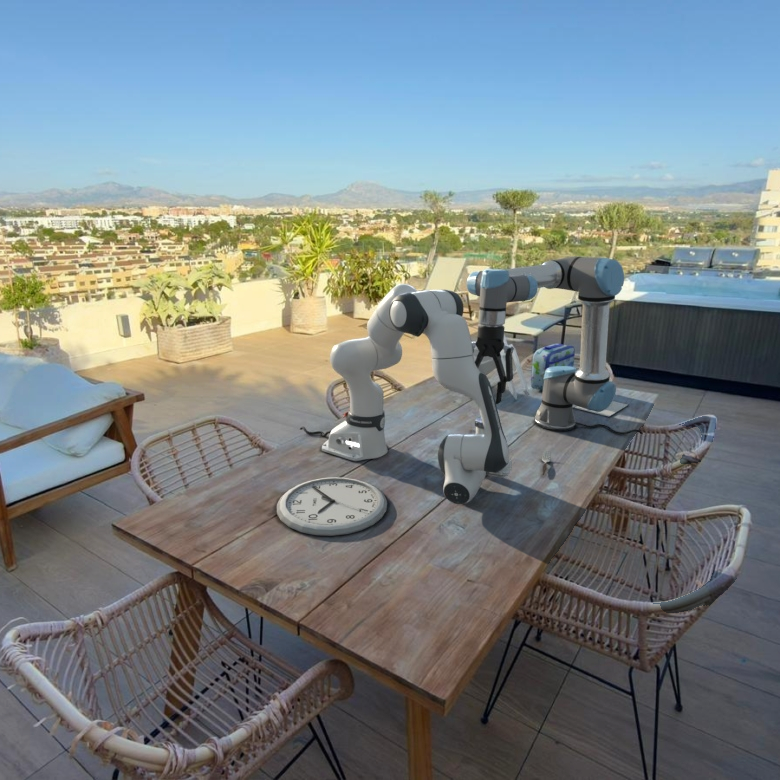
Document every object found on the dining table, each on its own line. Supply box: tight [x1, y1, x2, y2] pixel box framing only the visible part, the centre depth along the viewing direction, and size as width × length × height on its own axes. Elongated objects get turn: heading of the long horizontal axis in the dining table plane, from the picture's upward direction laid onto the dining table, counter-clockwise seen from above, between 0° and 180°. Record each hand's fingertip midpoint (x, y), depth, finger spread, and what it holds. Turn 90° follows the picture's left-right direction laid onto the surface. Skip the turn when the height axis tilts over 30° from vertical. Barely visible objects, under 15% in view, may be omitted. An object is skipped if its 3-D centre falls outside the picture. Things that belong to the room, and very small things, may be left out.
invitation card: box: [573, 400, 629, 418], centre depth 226 cm, size 21×1×15 cm
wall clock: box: [276, 476, 388, 537], centre depth 142 cm, size 30×2×30 cm
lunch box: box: [530, 343, 576, 391], centre depth 249 cm, size 26×11×21 cm, turn 134°
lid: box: [474, 416, 484, 429], centre depth 159 cm, size 5×5×2 cm
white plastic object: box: [473, 333, 531, 400], centre depth 245 cm, size 37×45×31 cm
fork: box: [541, 451, 552, 476], centre depth 168 cm, size 3×16×2 cm, turn 160°
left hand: (482, 451), depth 163 cm, fingers open, 5 cm apart
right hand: (485, 400), depth 157 cm, fingers open, 7 cm apart
